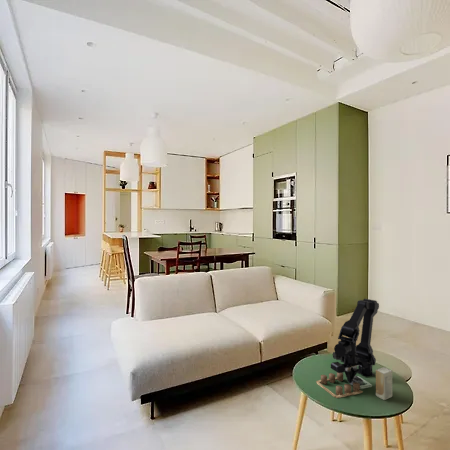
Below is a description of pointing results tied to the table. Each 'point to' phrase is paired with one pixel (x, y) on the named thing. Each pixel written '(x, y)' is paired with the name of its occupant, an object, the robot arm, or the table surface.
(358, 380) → the grey knob block
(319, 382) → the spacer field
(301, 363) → the table surface
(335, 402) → the table surface
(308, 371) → the table surface
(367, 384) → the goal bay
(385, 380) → the skincare box
